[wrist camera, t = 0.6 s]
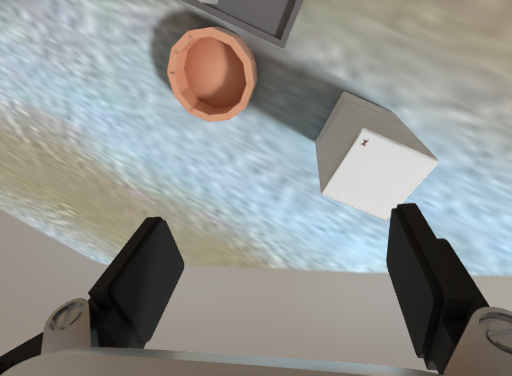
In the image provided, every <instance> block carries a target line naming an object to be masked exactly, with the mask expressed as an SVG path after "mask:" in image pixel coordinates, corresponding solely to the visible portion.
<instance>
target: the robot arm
mask: <svg viewBox="0 0 512 376" xmlns="http://www.w3.org/2000/svg"><path fill="white" fill-rule="evenodd" d="M386 261H387V268H388V271H389V274H390V277H391V280H392V283H393V286H394V289H395V292H396V295H397V298H398V301H399V304H400V307H401V310H402V313H403V316H404V320H405V323H406V326H407V328H408V331H409V335H410V338H411V341H412V343H413V347H414V349H415V353H416V355H417V357H418V358H423V359H424V362H425V364H426V367H427V369H428V370H438V373H439V374H436V373H431V372H426V371H421V370H413V369H406V368H398V367H390V366H378V365H368V364H357V363H356V364H355V363H345V362H332V361H318V360H304V359H290V358H275V357H262V356H246V355H231V354H216V353H201V352H186V351H168V350H152V349H143V348H144V346H145V344H146V342H148V341H149V340H150V339H151V337H152V335H153V333H154V331H155V329H156V327H157V325H158V323H159V321H160V318H161V316H162V314H163V312H164V310H165V308H166V306H167V304H168V302H169V299H170V297H171V295H172V293H173V291H174V289H175V287H176V285H177V283H178V280H179V278H180V276H181V274H182V271H183V270H184V261H183V259H182V256H181V254H180V252H179V250H178V247H177V245H176V243H175V240H174V238H173V236H172V234H171V231H170V229H169V227H168V224H167V222H166V221H165V220H163V219H162V218H161V217H148V218H146V219H145V220H144V222H143V223H142V224H141V225H140V227H139V228H138V229H137V231H136V232H135V233H134V234H133V236H132V237H131V238H130V240H129V241H128V242H127V243H126V245H125V246H124V247H123V249H122V250H121V251H120V252H119V254H118V255H117V256H116V258H115V259H114V260H113V261H112V263H111V264H110V265H109V267H108V268H107V269H106V270H105V272H104V273H103V274H102V276H101V277H100V278H99V279H98V281H97V282H96V283H95V285H94V286H93V287H92V288H91V290H90V291H89V292H88V294H89V295H90V299H89V300H88V301H87V300H86V299H83V298H78V299H73V300H71V301H69V302H66V303H65V304H63V305H62V306H60V307H59V308H58V309H56V310H55V311H54V312H53V313H52V314H51V315H50V317H49V318H48V320H47V321H46V324H45V327H44V332H42V333H40V334H39V335H37V336H35V337H33V338H32V339H30V340H28V341H27V342H25V343H23V344H21V345H20V346H18V347H16V348H14V349H13V350H11V351H9V352H8V353H6V354H4V355H2V356H1V357H0V376H512V312H511V311H508V310H506V309H502V308H497V307H490V306H489V305H488V303H487V301H486V300H485V298H484V297H483V295H482V294H481V292H480V291H479V289H478V287H477V286H476V284H475V283H474V281H473V279H472V278H471V276H470V275H469V273H468V272H467V270H466V269H465V267H464V265H463V264H462V262H461V261H460V259H459V258H458V256H457V254H456V253H455V251H454V250H453V248H452V247H451V245H450V243H449V242H448V241H447V240H446V239H444V238H443V239H437V238H436V236H435V235H434V233H433V231H432V230H431V228H430V226H429V225H428V223H427V221H426V220H425V218H424V216H423V215H422V213H421V211H420V210H419V208H418V206H417V205H416V204H415V203H408V204H398V205H397V208H392V210H391V218H390V228H389V239H388V249H387V259H386Z"/></svg>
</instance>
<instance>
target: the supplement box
mask: <svg viewBox="0 0 512 376" xmlns="http://www.w3.org/2000/svg"><path fill="white" fill-rule="evenodd" d="M315 145H316V153H317V162H318V171H319V178H320V187H321V194H322V195H324V196H327V197H330V198H332V199H335V200H337V201H339V202H342V203H344V204H347V205H349V206H352V207H354V208H357V209H359V210H362V211H364V212H366V213H369V214H371V215H374V216H376V217H379V218H381V219H384V220H388V218H389V217H390V216H391V210H392V208H397V205H398V204H402V203H403V202H404V200H405V199H406V198H407V197H408V196H409V195H410V194H411V193H412V191H413V190H414V189H415V188H416V187H417V186H418V185H419V184H420V183H421V182H422V180H423V179H424V178H425V177H426V176H427V175H428V174H429V173H430V172H431V171H432V170H433V169H434V168H435V166H436V165H437V164H438V163H439V161H438V159H437V158H436V157H435V156H434V155H433V154H432V153H431V152H430V150H429V149H428V148H427V147H426V146H425V145H424V144H423V143H422V142H421V141H420V140H419V139H418V138H417V137H416V136H415V135H414V134H413V133H412V132H411V130H410V129H409V128H408V127H407V126H406V125H405V124H404V123H403V122H402V121H401V120H400V119H399V118H398V116H397V115H396V114H394V113H392V112H390V111H388V110H386V109H384V108H382V107H379V106H377V105H375V104H373V103H370V102H368V101H366V100H363V99H361V98H359V97H357V96H354V95H352V94H350V93H347V92H345V91H343V92H342V94H341V96H340V98H339V99H338V101H337V103H336V105H335V107H334V108H333V110H332V112H331V114H330V116H329V117H328V119H327V121H326V123H325V125H324V126H323V128H322V130H321V132H320V134H319V135H318V137H317V139H316V141H315Z"/></svg>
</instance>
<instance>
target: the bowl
mask: <svg viewBox="0 0 512 376" xmlns="http://www.w3.org/2000/svg"><path fill="white" fill-rule="evenodd" d="M167 74H168V78H169V81H170V84H171V88H172V91H173V95H174V96H175V97H176V99H177V100H178V101H179V102H180V103H181V104H182V106H183V107H184V108H185V109H186V110H187V111H188V112H190V114H192V115H195V116H197V117H199V118H201V119H204V120H206V121H208V122H212V121H222V120H230V119H231V118H232V117H234V116H235V115H236V114H238V113H239V112H240V111H241V110H243V109H244V108H245V107H246V106H247V104H248V103H249V101H250V99H251V97H252V94H253V92H254V90H255V86H256V84H257V81H258V78H257V65H256V61H255V57H254V55H253V53H252V51H251V49H250V48H249V46H248V45H247V43H246V42H245V41H244V40H243V39H242V38H241V37H240V36H239V35H237V34H236V33H234V32H232V31H230V30H227V29H224V28H222V27H220V26H216V27H208V28H203V29H197V30H191V31H187V32H186V33H185V34H184V35H183V36H182V37H181V38H180V39H179V41H178V42H177V43H176V44H175V45H174V46H173V47H172V48H171V53H170V58H169V63H168V69H167Z"/></svg>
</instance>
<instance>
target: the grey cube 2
mask: <svg viewBox="0 0 512 376" xmlns="http://www.w3.org/2000/svg"><path fill="white" fill-rule="evenodd" d="M198 1H200V2H202V3H209V4H217V3H218V0H198Z"/></svg>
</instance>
